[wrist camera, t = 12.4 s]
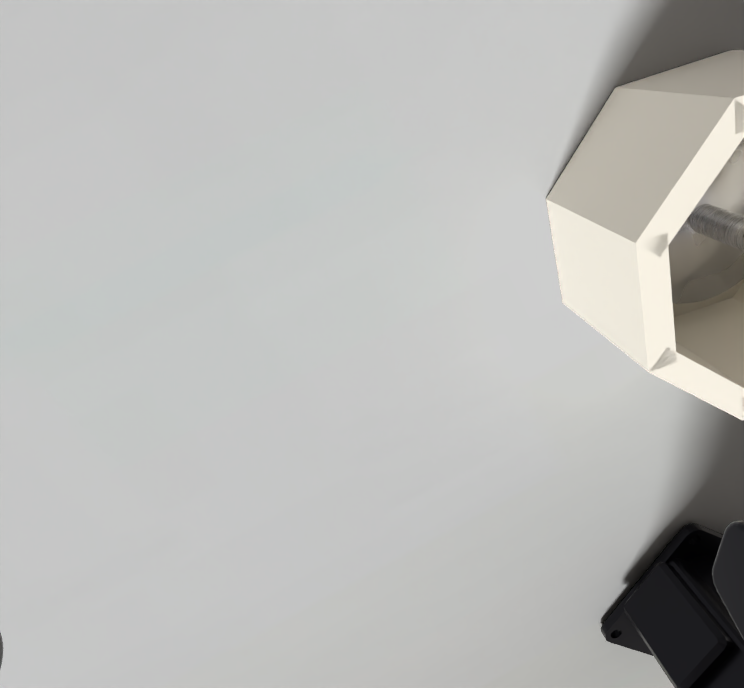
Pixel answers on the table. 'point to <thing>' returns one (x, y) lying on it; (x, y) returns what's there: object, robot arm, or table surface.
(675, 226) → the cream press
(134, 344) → the table surface
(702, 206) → the brown and grey doorknob
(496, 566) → the table surface
